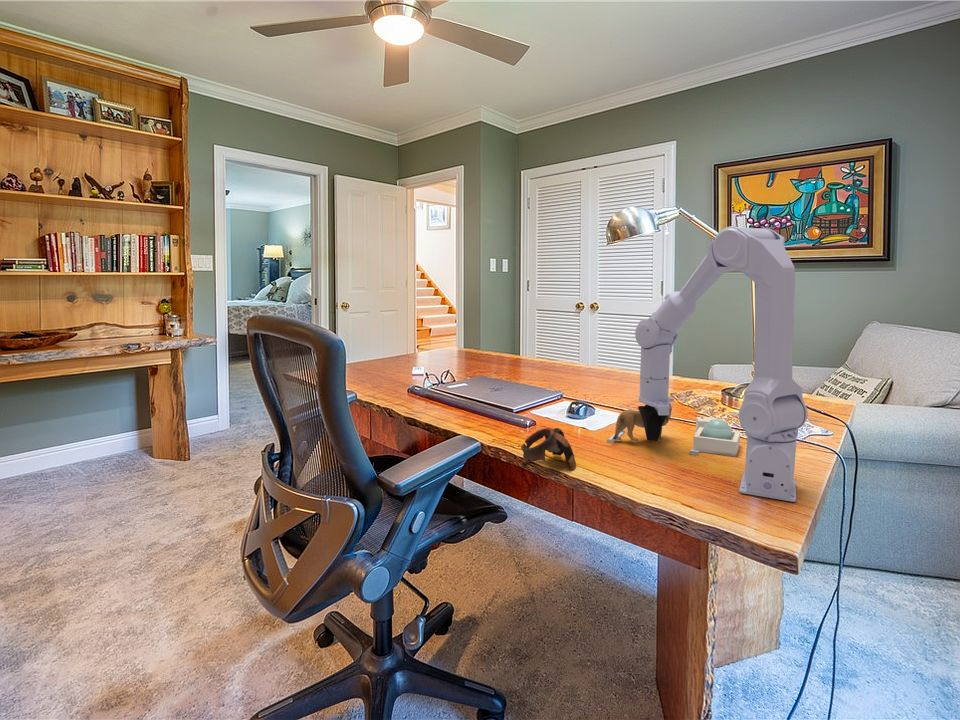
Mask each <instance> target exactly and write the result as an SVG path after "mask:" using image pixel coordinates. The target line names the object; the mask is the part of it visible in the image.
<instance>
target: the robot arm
mask: <svg viewBox="0 0 960 720" xmlns="http://www.w3.org/2000/svg"><path fill="white" fill-rule="evenodd" d="M785 240H786V239H785V237H784V236H782V235H781V234H779V233H778V232H776V231H775V230H773V229H772V228H769V227H760V228H756V227H754V228H753V227H739V226H732V225H730V226H727V227H724V228H722V229H721V230H720V231H719V232H717V234H716V235H715V237H714V239H712V241H711V242H710V243H708V245H707V250H706V252H707V254H706V255H705V256H704V258H703V259H702V260H701V262H700V263H699V265H698V266H697V268H695V270H694V272H693V273H692V274H691V276H689V278H688V280H687V281H686V283H685V284H684V286H683V287H682V288H681V290H680V291H679V290H678V291H677V290H676V291H671V293H667V294H666V296H664V301H663V302H662V303H661V304H660V305H659V307H658V308H657V309H656V310H655V311H654V312H653V313H652V314H651V316H650V317H649V318H647V319H641V320H640V321H639V322H638V324H637V325H636V327H635V332H634V337H635V340H636V342H637V344H638V346H639V347H640V371H639V372H640V373H639V376H640V377H639V380H640V381H639V396H638V402H640V403H641V404H644V405H640V406H637V409H638V411H640V413H641V416H642V419H643V423H644V431H645V436H646V440H647V441H648V442H658V441H659V440H658V439H659V436H660V432H661V428H662V429H663V426H662V425H663V423H664V421H665V419H666V417H667V416H668V415H669V411H670V406H669V402H670V403H673V402H675V398H674V397H672V396H669V389H670V387H669V386H670V362H671V361H670V359H671V354H672V353H673V346H674V344H675V343H676V341H677V339H678V333H677V332H678V331H679V330H680V329H681V328H682V327H683V326H684V324H685V323H687V321H688V320H689V319H690V318H691V317H692V315H693V314H695V312H696V311H697V305H696V304H697V303H696V302H697V301H698V300H699V299H700V298H701V297H702V296H703V295H704V294H705V293H706V292H707V291H708V290H709V289H710V288H711V287H712V286H713V285H714V284H715V283H716V282H717V281H718V280H719V279H720V278H721V277H722V276H723V275H725V274H726V273H730V272H734V271H739V272H741V273H742V274H744V275H745V276H747V278H748V279H750V280H751V281H753V282H754V284H755V294H754V295H755V299H754V300H755V301H754V305H755V306H754V345H753V346H754V349H753V351H754V352H753V379H752V380H751V381H750V383H749V384H748V385H747V387H746V388H745V389H744V393H743V401H742V404H741V406H740V407H739V411H738V422H739V424H740V426H741V428H742V429H743V431H744V432H745V436H746V448H745V450H746V451H745V463H744V472H743V473H742V476H741V480H740V481H741V482H740V485H739V489H738V490H739V493H740V494H745V495H751V496H756V497H757V496H758V497H763V498H770V499H773V500H774V499H775V500H780V501H786V502H791V503H792V502H793V503H795V502H797V486H796V485H797V483H796V480H795V466H796V455H797V454H796V453H797V440H798V434H799V429H800V428H802V427H804V425H805V423H807V420H808V413H809V412H808V411H809V410H808V408H807V405H806V403H805V402H804V398H803V388H802V387H801V386H800V384H798V383H797V382H796V381H795V380H794V379H793V359H794V357H793V356H794V355H793V354H794V324H795V323H794V321H795V320H794V319H795V318H794V317H795V288H796V287H795V283H796V279H795V278H796V270H795V269H796V268H795V265H794V264H793V261H792V260H791V257H790V256H789V254H788V251H787V250H786V248H785Z"/></svg>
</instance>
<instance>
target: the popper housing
mask: <svg viewBox="0 0 960 720" xmlns="http://www.w3.org/2000/svg"><path fill="white" fill-rule="evenodd" d="M703 435H704V427H699V429H698V430H697V432H696V431H695V434H694V435H693V438H692V439H693V441H692V442H693V443H692V448H693V449H694V450H699V453H706V454H712V455H713V454H714V455H722V456H728V457H737V455H738V451H739V449H740V446H741V431H738V430H736V431H735V430H731V440H726V439H718V438H710V437H703Z"/></svg>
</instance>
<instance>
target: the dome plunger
mask: <svg viewBox="0 0 960 720" xmlns="http://www.w3.org/2000/svg"><path fill="white" fill-rule="evenodd" d="M731 431H732V426H731V425H729V424H728V422H726V420H724V419H721V418H716V419H713V420H711V421H709V422H708V423H707V424H704V435H703V437H710V438H718V439H726V440H731Z"/></svg>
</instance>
